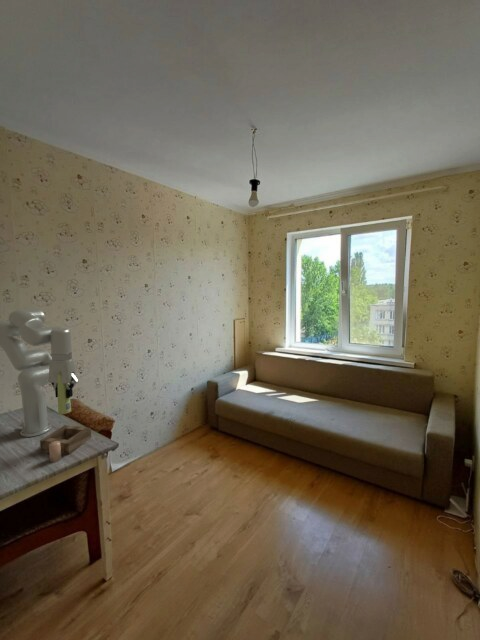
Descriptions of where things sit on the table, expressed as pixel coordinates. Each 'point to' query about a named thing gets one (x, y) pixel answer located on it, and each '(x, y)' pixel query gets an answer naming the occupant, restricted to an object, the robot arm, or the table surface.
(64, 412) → the tube
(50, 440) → the square wooden frame
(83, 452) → the table surface
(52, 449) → the short stub
